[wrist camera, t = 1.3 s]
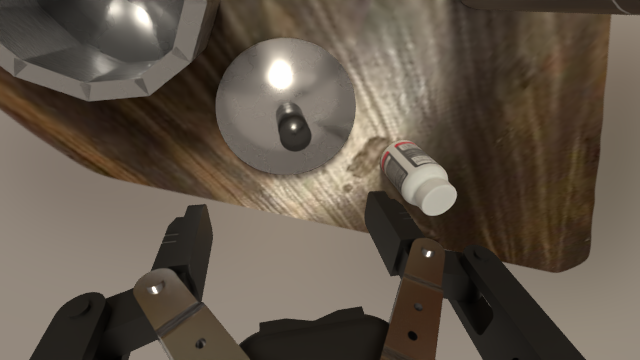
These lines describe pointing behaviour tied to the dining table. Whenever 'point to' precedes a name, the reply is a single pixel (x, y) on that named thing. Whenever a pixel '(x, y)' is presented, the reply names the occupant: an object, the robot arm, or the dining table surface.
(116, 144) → the dining table surface
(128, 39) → the pot
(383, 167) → the pill bottle
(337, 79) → the lid
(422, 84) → the dining table surface
